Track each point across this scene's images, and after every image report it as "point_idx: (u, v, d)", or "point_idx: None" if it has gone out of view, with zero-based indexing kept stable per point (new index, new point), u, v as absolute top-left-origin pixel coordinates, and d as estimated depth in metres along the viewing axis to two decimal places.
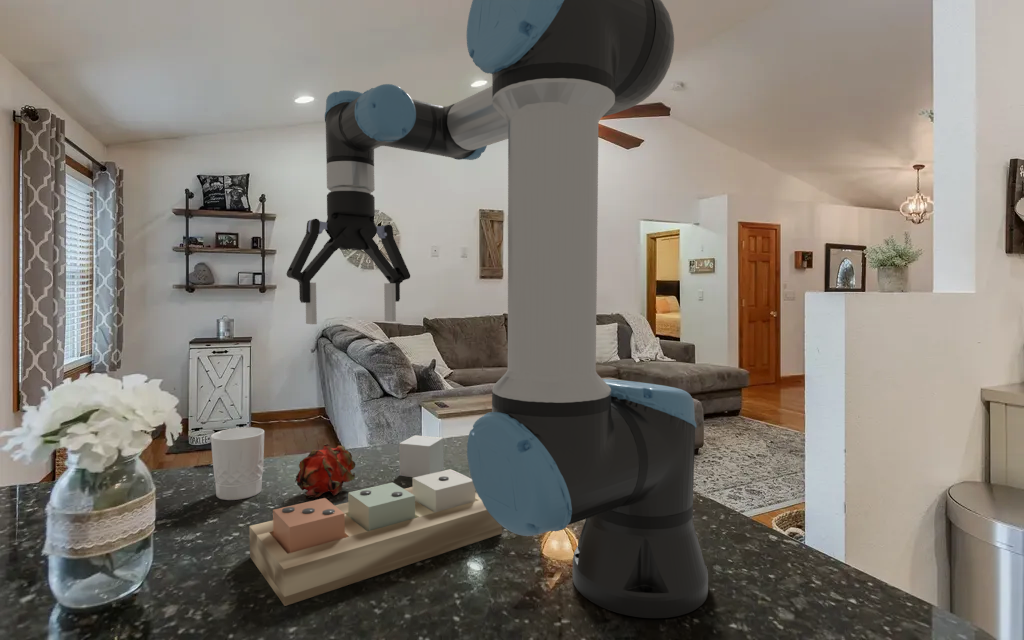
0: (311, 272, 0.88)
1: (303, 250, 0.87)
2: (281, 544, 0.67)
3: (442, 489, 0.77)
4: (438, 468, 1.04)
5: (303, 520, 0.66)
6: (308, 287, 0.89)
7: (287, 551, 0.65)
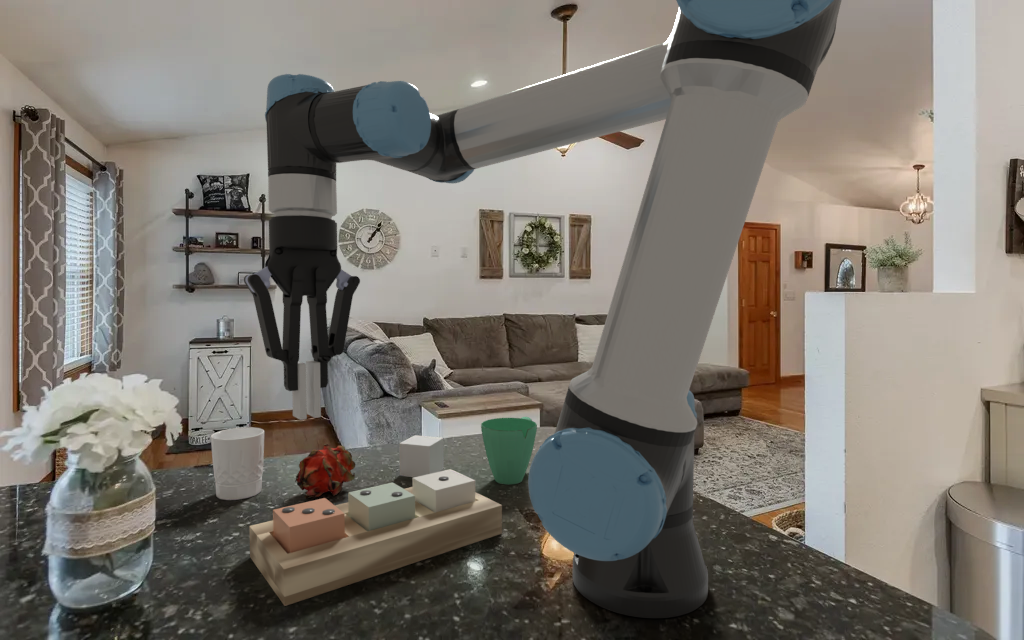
0: (293, 348, 0.65)
1: (266, 322, 0.63)
2: (281, 544, 0.67)
3: (442, 489, 0.77)
4: (438, 468, 1.04)
5: (303, 520, 0.66)
6: (295, 370, 0.66)
7: (287, 551, 0.65)
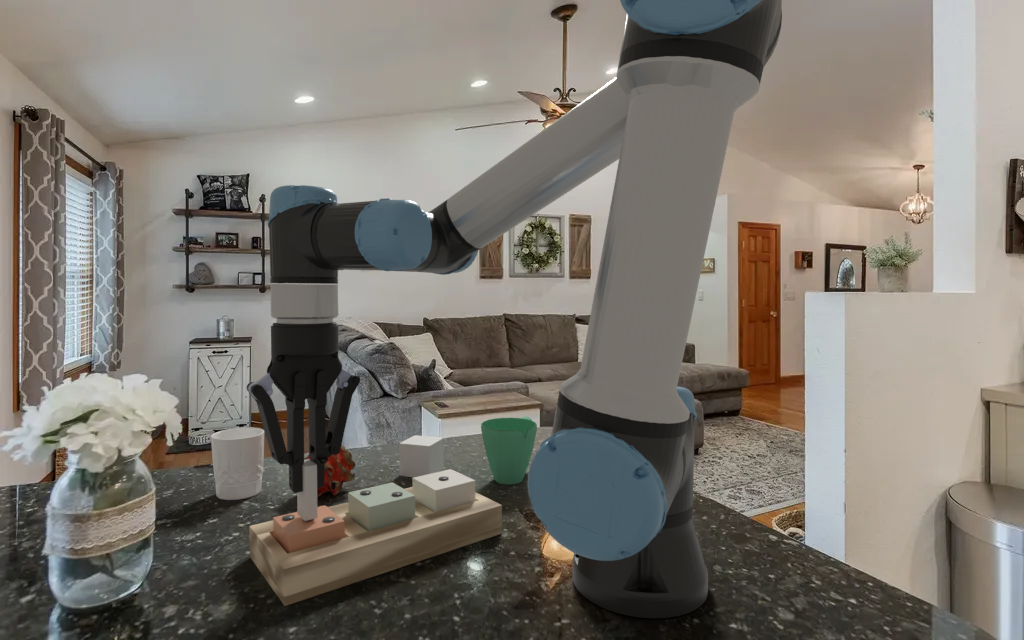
0: (298, 452, 0.66)
1: (270, 430, 0.64)
2: None
3: (442, 489, 0.77)
4: (438, 468, 1.04)
5: (303, 528, 0.66)
6: (300, 472, 0.67)
7: None
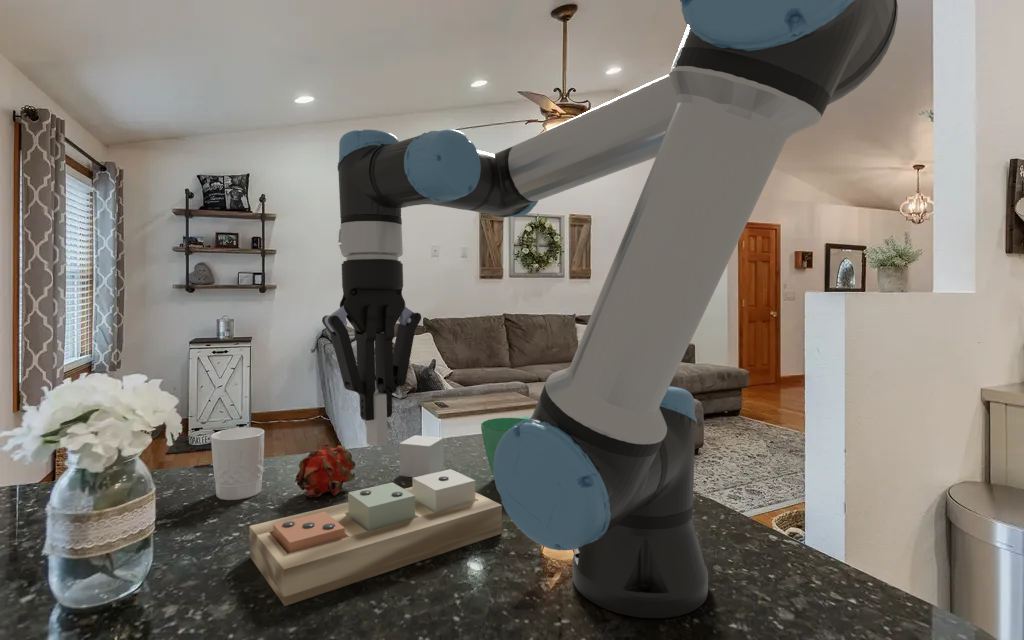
0: (370, 381, 0.71)
1: (346, 358, 0.69)
2: None
3: (442, 489, 0.77)
4: (438, 468, 1.04)
5: (303, 535, 0.66)
6: (371, 401, 0.71)
7: None
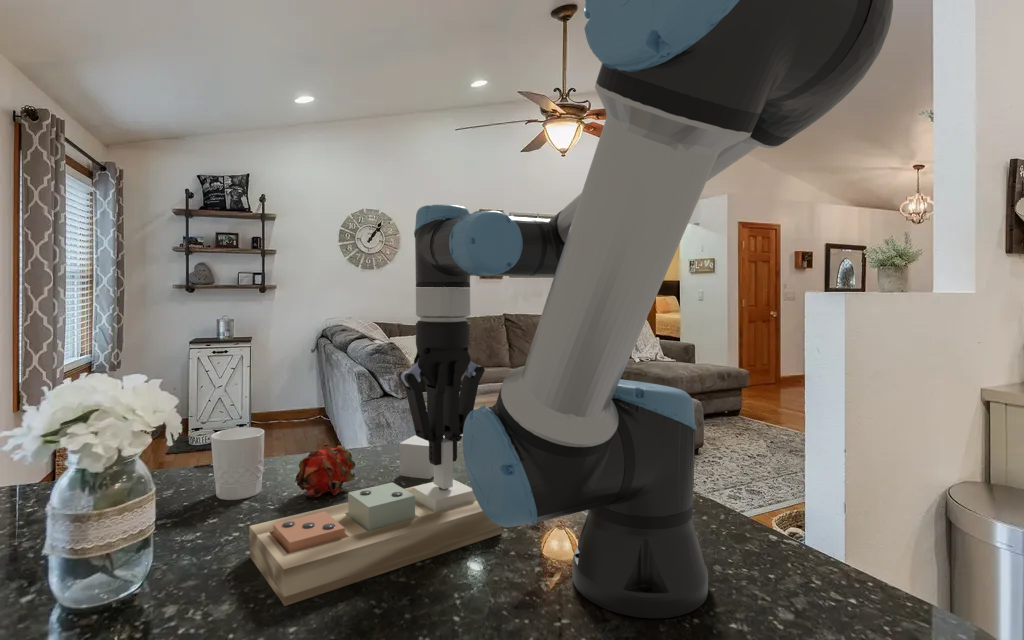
0: (439, 430, 0.78)
1: (419, 411, 0.76)
2: None
3: (443, 499, 0.77)
4: None
5: (303, 535, 0.66)
6: (439, 447, 0.79)
7: None
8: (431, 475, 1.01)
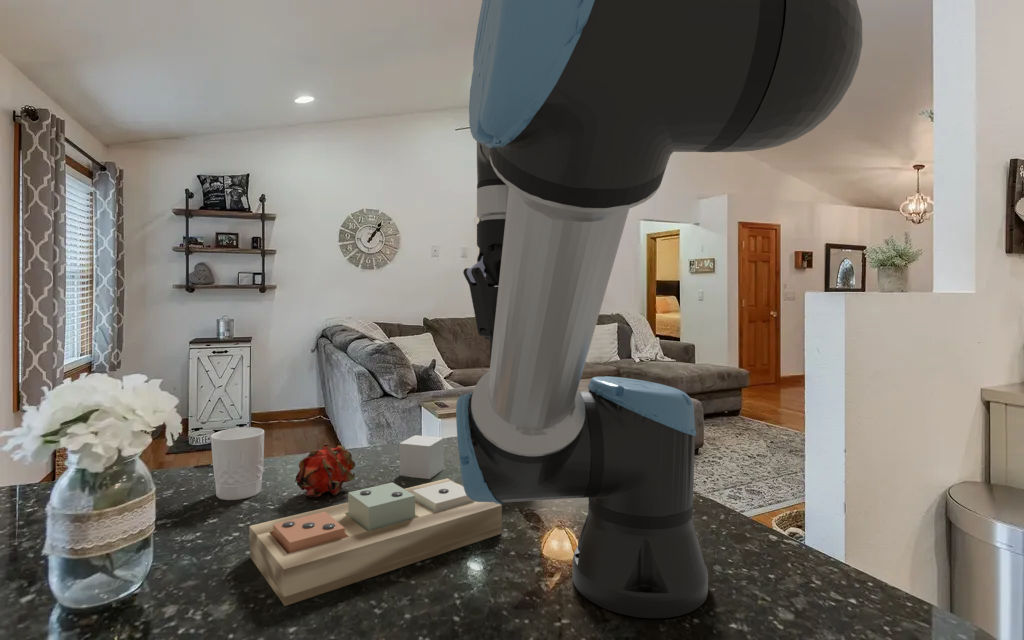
0: None
1: (485, 306, 0.77)
2: None
3: (442, 502, 0.77)
4: (438, 468, 1.04)
5: (303, 535, 0.66)
6: None
7: None
8: (431, 475, 1.01)
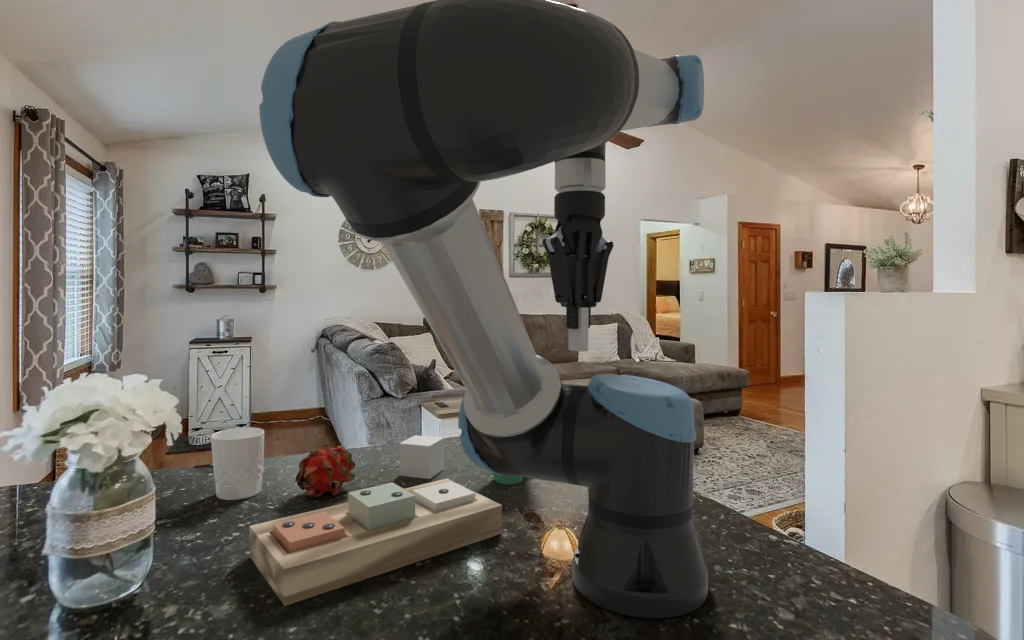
0: (577, 295, 0.84)
1: (563, 274, 0.82)
2: None
3: (442, 502, 0.77)
4: (438, 468, 1.04)
5: (303, 535, 0.66)
6: (577, 312, 0.85)
7: None
8: (431, 475, 1.01)
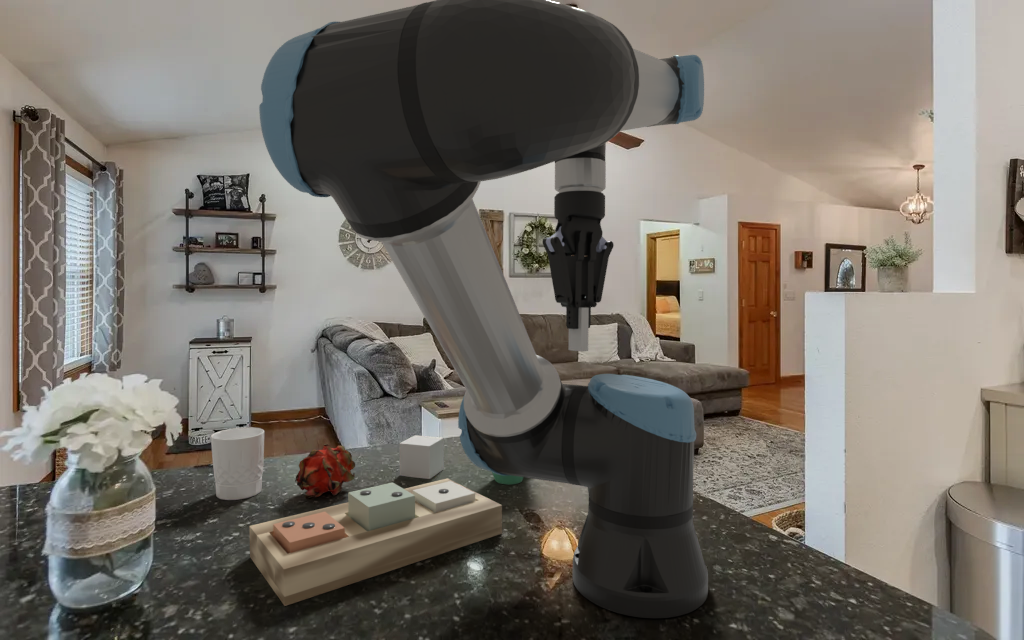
0: (578, 295, 0.84)
1: (563, 274, 0.82)
2: None
3: (442, 502, 0.77)
4: (438, 468, 1.04)
5: (303, 535, 0.66)
6: (577, 312, 0.85)
7: None
8: (431, 475, 1.01)
